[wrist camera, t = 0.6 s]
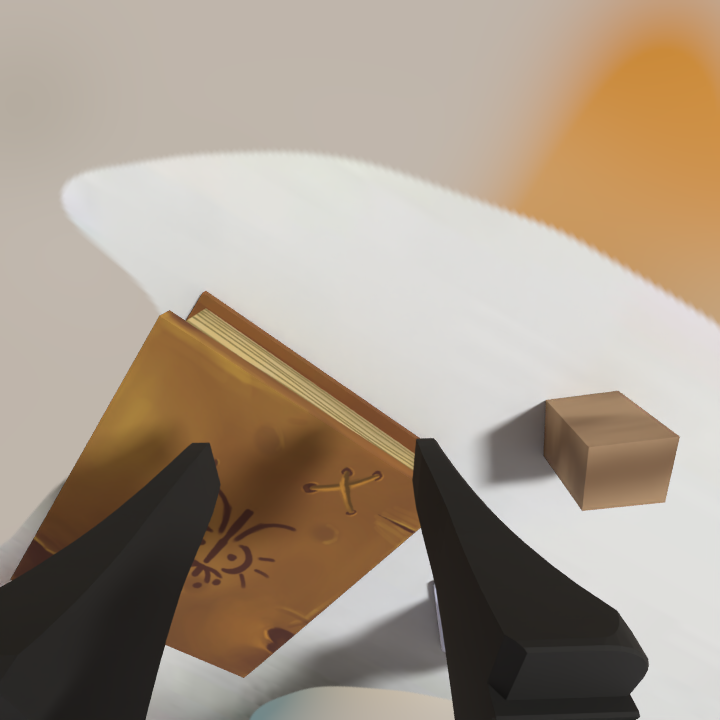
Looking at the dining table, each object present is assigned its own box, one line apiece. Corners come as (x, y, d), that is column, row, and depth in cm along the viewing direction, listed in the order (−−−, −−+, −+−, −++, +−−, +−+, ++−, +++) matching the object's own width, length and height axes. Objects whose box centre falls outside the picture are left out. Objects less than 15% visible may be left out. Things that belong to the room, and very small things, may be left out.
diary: (271, 605, 33) (252, 681, 28) (75, 511, 29) (10, 579, 24) (441, 448, 26) (459, 512, 20) (209, 288, 21) (157, 317, 16)
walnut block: (610, 447, 25) (664, 502, 20) (543, 454, 25) (582, 510, 21) (617, 390, 23) (679, 436, 18) (545, 399, 23) (588, 447, 19)
